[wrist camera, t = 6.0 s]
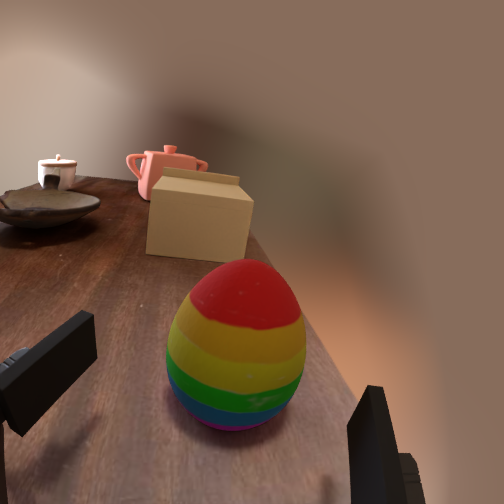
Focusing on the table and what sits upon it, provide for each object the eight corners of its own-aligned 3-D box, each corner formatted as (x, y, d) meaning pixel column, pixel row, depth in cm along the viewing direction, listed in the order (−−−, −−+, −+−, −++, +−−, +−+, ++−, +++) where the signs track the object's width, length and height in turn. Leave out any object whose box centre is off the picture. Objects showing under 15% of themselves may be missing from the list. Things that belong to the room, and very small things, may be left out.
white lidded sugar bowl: (43, 196, 63) (46, 156, 60) (32, 189, 69) (34, 154, 66) (80, 193, 72) (84, 156, 69) (66, 186, 77) (68, 153, 74)
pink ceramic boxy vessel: (211, 206, 80) (220, 152, 76) (124, 201, 70) (131, 142, 66) (189, 192, 97) (196, 147, 92) (119, 187, 86) (125, 140, 82)
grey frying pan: (-50, 236, 31) (-52, 187, 29) (40, 199, 60) (42, 165, 58) (57, 260, 34) (57, 198, 32) (127, 210, 62) (131, 174, 60)
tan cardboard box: (229, 232, 60) (239, 177, 57) (242, 264, 45) (256, 190, 42) (157, 224, 57) (164, 166, 54) (145, 254, 42) (153, 176, 39)
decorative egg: (286, 458, 16) (343, 313, 13) (147, 428, 16) (148, 273, 13) (287, 375, 23) (321, 253, 20) (183, 354, 24) (196, 229, 21)
